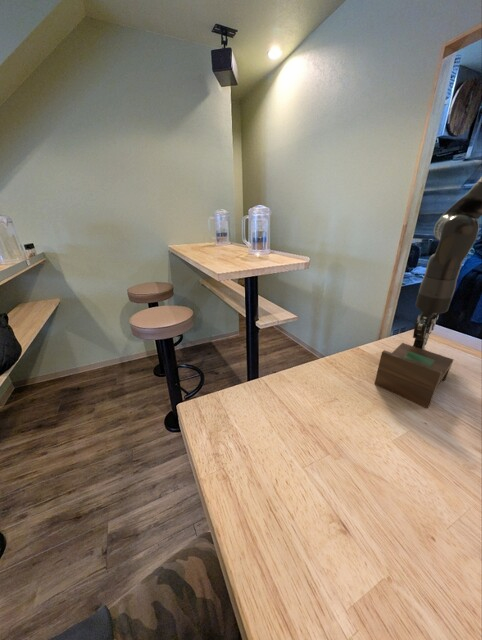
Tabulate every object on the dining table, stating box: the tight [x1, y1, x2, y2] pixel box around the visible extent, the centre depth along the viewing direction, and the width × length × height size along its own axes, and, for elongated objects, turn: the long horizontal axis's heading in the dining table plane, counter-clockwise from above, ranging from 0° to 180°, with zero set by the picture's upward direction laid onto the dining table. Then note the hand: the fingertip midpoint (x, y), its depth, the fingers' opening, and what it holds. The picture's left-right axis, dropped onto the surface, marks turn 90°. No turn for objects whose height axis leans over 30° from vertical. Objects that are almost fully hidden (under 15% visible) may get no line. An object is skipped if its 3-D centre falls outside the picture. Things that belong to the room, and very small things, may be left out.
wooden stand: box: [374, 342, 455, 409], centre depth 65 cm, size 16×12×10 cm
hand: (419, 346), depth 75 cm, fingers closed on rook chess piece, 3 cm apart
